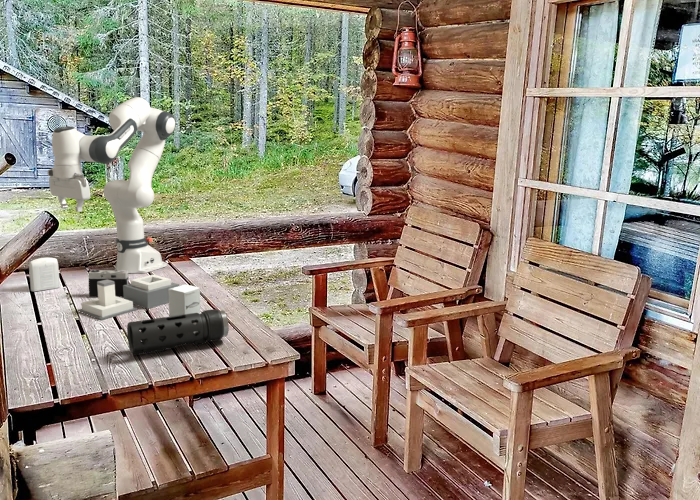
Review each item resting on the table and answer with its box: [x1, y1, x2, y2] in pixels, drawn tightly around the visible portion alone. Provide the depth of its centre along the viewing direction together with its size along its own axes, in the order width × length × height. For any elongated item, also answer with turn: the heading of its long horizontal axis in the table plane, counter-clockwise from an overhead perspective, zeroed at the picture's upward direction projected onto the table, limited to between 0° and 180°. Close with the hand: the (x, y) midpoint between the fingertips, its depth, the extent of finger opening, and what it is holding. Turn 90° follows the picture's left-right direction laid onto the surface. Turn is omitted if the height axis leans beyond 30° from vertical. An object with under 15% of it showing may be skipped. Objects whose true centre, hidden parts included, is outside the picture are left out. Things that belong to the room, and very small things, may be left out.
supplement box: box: [168, 283, 201, 317], centre depth 195 cm, size 7×7×13 cm
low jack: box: [77, 296, 138, 321], centre depth 206 cm, size 14×14×3 cm
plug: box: [97, 279, 116, 307], centre depth 205 cm, size 4×4×10 cm
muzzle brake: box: [126, 308, 230, 356], centre depth 176 cm, size 10×28×10 cm, turn 121°
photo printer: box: [28, 257, 60, 292], centre depth 227 cm, size 10×4×12 cm, turn 134°
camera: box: [88, 269, 130, 298], centre depth 224 cm, size 14×9×10 cm, turn 90°
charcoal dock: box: [123, 274, 180, 310], centre depth 218 cm, size 14×14×8 cm
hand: (71, 209), depth 217 cm, fingers open, 8 cm apart
